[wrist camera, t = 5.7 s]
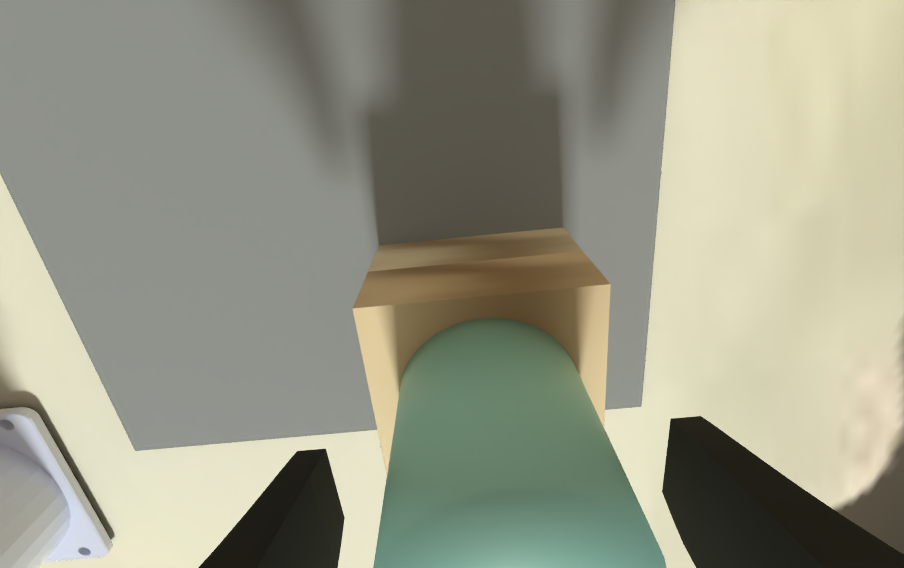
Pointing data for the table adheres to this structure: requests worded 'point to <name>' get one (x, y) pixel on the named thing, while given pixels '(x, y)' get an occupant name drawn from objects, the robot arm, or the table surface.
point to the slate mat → (314, 180)
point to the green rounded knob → (505, 461)
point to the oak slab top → (480, 296)
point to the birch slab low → (473, 249)
